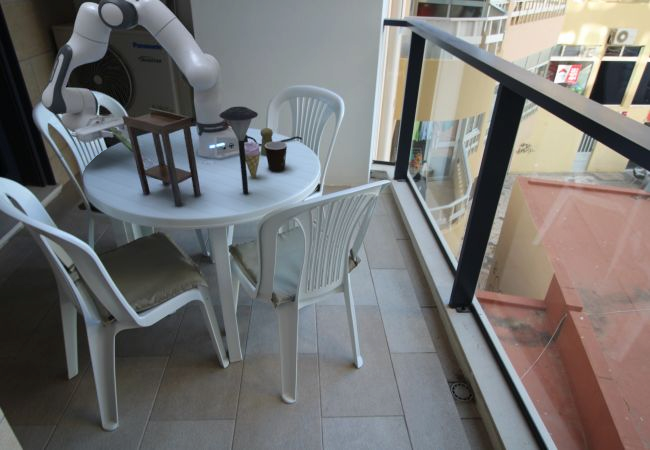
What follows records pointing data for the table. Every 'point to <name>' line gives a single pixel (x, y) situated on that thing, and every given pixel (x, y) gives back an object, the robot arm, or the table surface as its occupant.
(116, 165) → the table surface
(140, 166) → the stand
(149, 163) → the fork
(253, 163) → the ice cream cone
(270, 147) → the coffee mug
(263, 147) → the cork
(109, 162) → the table surface
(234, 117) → the solar garden light
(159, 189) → the table surface
